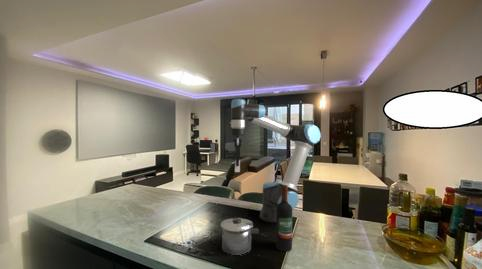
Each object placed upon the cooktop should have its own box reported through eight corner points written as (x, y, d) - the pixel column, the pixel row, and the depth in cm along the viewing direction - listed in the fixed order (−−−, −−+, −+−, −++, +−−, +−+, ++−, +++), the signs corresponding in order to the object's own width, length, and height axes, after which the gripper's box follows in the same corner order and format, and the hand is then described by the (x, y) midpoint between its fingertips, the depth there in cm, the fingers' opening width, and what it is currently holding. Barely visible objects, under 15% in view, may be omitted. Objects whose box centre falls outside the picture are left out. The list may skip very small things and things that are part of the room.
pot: (216, 239, 108) (216, 220, 108) (257, 240, 109) (257, 220, 109) (212, 255, 94) (213, 233, 94) (260, 255, 95) (260, 233, 95)
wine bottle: (289, 243, 106) (290, 183, 106) (293, 251, 98) (294, 187, 98) (274, 243, 105) (275, 183, 105) (277, 251, 98) (278, 187, 98)
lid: (221, 219, 110) (221, 216, 110) (251, 219, 110) (251, 216, 110) (219, 231, 93) (219, 227, 93) (254, 231, 94) (254, 227, 94)
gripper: (231, 128, 120) (230, 169, 120) (230, 127, 107) (230, 174, 107) (244, 128, 120) (243, 169, 120) (245, 127, 107) (244, 174, 107)
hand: (237, 171), depth 113 cm, fingers closed
